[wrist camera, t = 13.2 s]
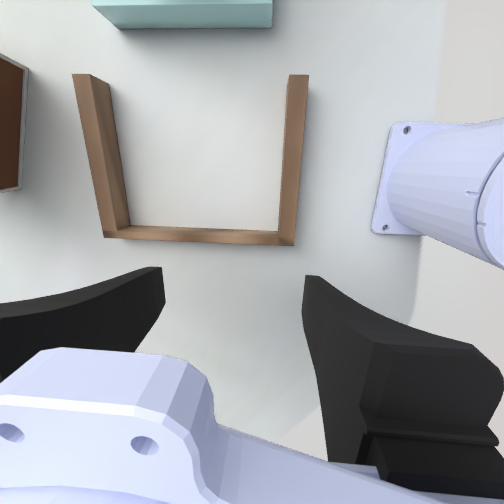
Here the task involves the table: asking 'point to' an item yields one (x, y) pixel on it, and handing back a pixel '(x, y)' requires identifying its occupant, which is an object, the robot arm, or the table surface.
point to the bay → (118, 226)
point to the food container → (12, 122)
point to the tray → (186, 13)
